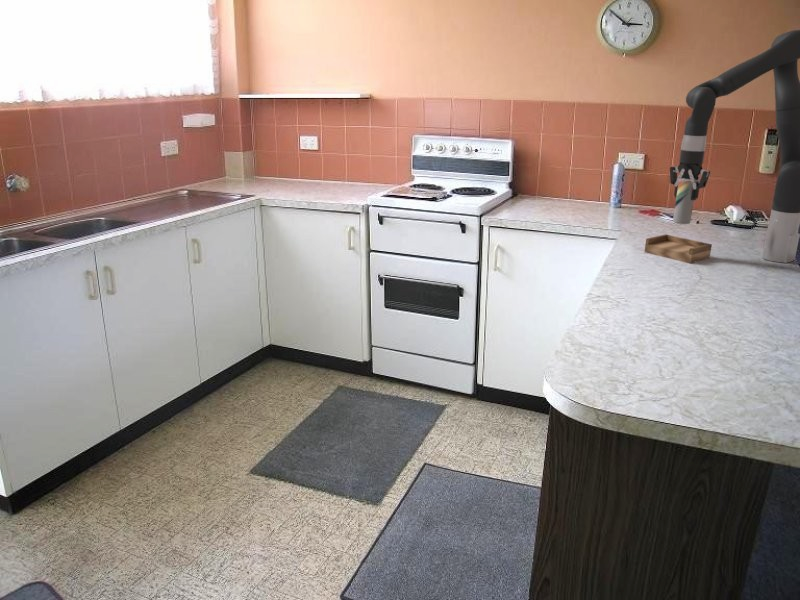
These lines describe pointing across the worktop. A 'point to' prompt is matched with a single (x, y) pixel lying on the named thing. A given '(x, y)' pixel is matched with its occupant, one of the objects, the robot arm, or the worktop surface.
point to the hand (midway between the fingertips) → (685, 198)
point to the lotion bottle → (684, 199)
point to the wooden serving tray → (678, 248)
